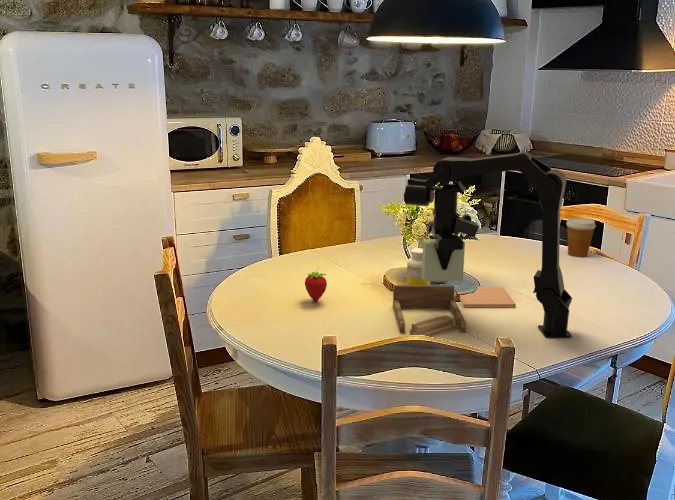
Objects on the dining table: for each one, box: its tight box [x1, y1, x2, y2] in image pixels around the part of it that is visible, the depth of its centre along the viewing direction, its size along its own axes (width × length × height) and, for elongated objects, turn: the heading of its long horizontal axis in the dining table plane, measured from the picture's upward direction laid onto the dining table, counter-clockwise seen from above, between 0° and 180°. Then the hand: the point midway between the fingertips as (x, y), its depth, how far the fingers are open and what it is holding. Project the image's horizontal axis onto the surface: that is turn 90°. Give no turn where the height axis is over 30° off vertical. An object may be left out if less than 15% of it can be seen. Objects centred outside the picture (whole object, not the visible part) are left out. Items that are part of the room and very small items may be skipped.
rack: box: [392, 284, 467, 334], centre depth 173 cm, size 18×16×6 cm
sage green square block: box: [422, 238, 466, 282], centre depth 173 cm, size 4×10×10 cm, turn 92°
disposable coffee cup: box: [566, 217, 597, 258], centre depth 229 cm, size 10×10×12 cm
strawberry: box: [304, 268, 328, 303], centre depth 183 cm, size 6×8×10 cm
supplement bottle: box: [406, 247, 431, 285], centre depth 190 cm, size 7×7×13 cm
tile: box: [459, 286, 517, 309], centre depth 188 cm, size 14×14×1 cm
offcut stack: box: [409, 315, 457, 337], centre depth 166 cm, size 4×12×3 cm, turn 120°
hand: (442, 267), depth 174 cm, fingers closed on sage green square block, 4 cm apart
